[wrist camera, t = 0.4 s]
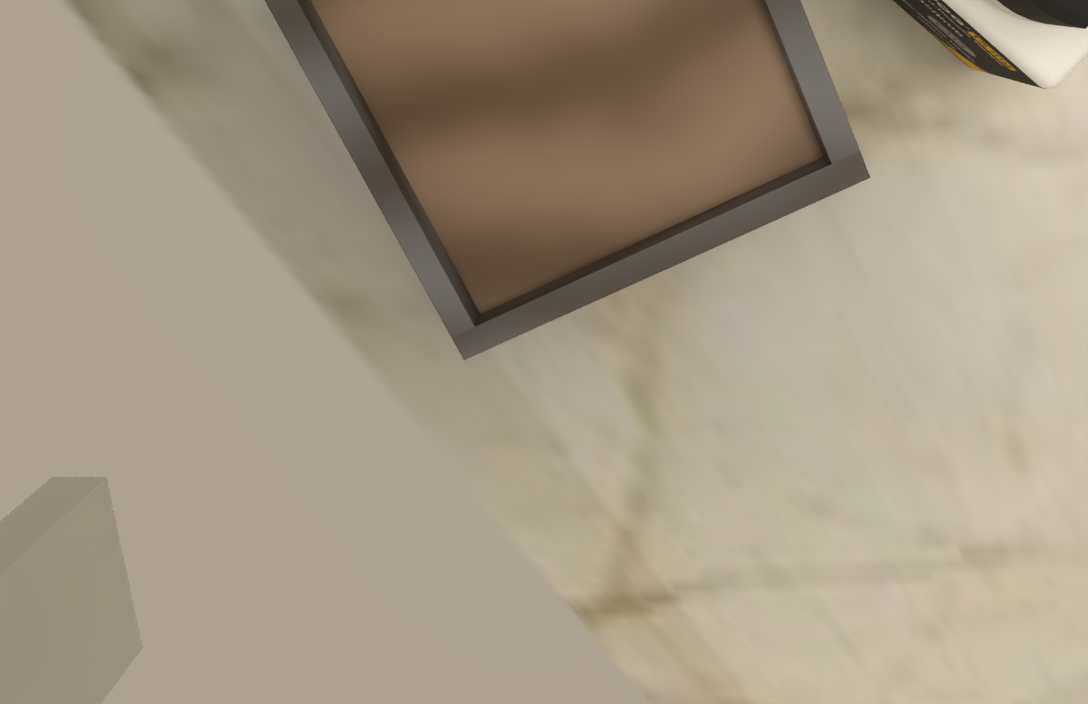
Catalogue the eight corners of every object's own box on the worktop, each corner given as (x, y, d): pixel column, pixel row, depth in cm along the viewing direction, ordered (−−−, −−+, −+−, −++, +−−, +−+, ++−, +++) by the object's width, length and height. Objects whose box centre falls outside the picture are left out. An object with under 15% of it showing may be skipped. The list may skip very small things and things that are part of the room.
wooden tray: (265, -44, 36) (240, -45, 34) (676, -283, 32) (680, -304, 30) (473, 337, 40) (463, 359, 38) (855, 164, 37) (870, 177, 35)
